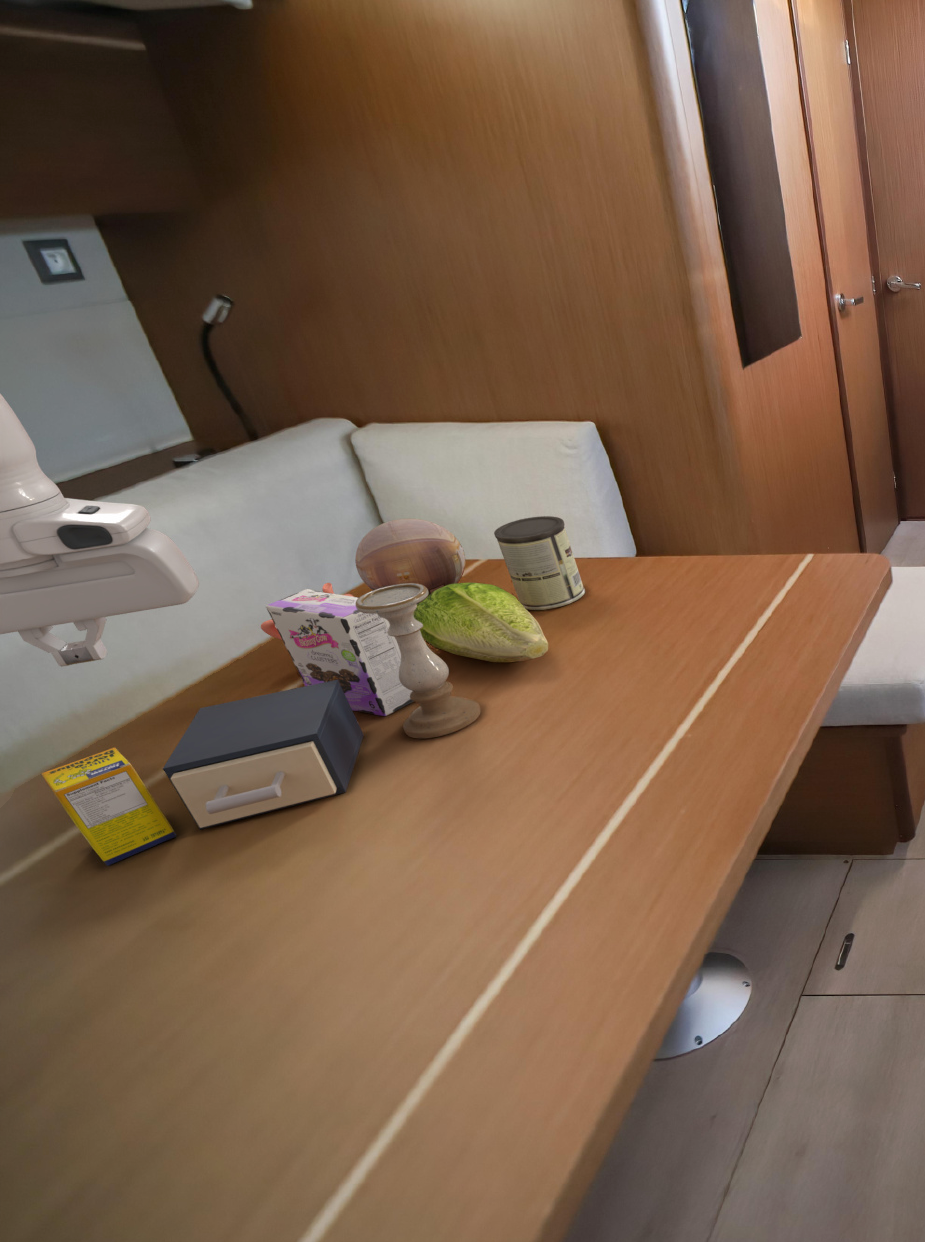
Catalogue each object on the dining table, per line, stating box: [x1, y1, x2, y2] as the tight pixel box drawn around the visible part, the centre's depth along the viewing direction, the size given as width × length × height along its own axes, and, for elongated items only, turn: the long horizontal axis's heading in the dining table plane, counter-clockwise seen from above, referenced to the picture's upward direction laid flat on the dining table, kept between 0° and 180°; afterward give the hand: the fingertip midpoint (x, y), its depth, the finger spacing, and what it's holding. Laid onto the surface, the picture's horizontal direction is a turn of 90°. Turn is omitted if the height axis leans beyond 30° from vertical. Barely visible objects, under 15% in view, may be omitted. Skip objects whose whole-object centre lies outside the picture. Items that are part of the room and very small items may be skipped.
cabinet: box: [162, 680, 365, 830], centre depth 113 cm, size 15×14×9 cm
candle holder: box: [355, 583, 481, 739], centre depth 122 cm, size 9×9×20 cm
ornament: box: [354, 518, 467, 602], centre depth 158 cm, size 15×15×15 cm
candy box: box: [265, 588, 415, 717], centre depth 128 cm, size 14×6×16 cm, turn 76°
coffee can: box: [493, 515, 586, 611], centre depth 159 cm, size 10×10×14 cm
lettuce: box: [413, 582, 549, 663], centre depth 142 cm, size 12×24×13 cm
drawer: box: [171, 741, 337, 828], centre depth 110 cm, size 18×12×7 cm
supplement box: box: [41, 747, 177, 867], centre depth 101 cm, size 6×6×11 cm
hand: (85, 660), depth 89 cm, fingers closed
